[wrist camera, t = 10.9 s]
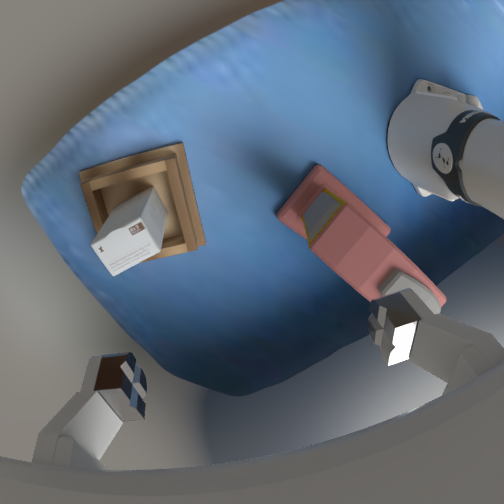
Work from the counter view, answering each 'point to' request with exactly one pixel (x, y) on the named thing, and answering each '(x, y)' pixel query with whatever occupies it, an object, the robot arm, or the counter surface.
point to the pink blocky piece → (353, 240)
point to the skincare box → (132, 232)
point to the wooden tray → (139, 179)
